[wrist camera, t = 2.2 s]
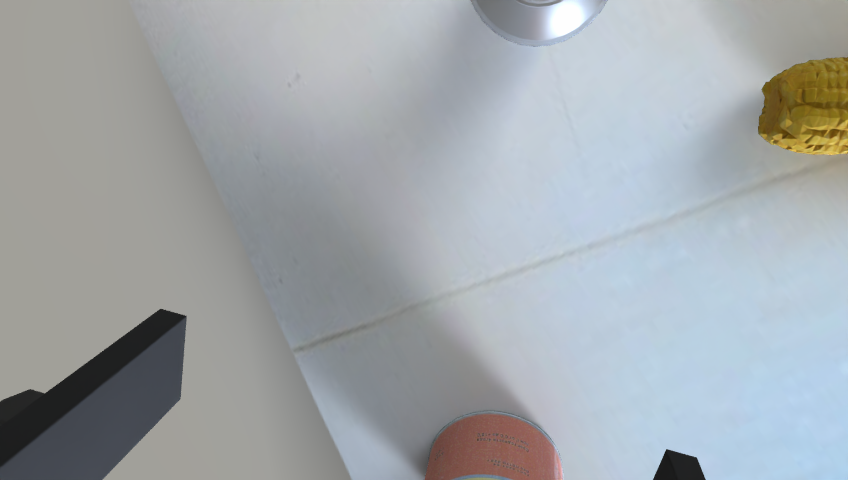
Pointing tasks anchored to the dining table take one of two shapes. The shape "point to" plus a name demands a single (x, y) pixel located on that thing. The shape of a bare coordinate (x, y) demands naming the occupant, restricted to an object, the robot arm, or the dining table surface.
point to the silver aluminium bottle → (537, 19)
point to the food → (808, 108)
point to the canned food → (493, 450)
